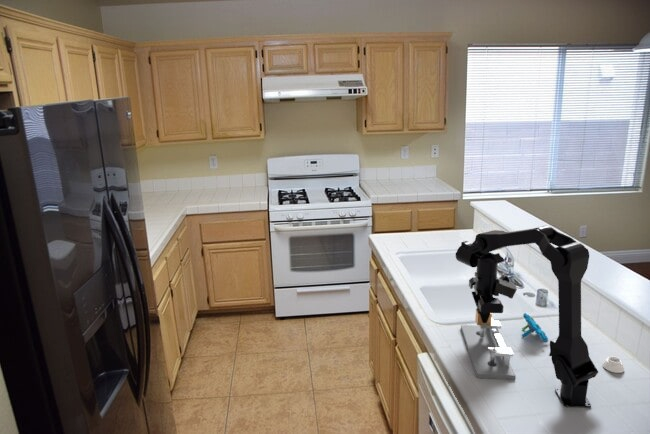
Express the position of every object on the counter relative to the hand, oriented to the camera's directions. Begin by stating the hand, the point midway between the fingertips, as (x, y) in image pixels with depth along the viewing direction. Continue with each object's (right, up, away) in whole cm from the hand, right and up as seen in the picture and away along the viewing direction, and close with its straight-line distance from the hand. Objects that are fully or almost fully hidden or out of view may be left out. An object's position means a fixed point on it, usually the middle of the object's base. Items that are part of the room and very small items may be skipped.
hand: (483, 319), depth 140 cm
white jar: (+32, -11, -12) cm, 36 cm away
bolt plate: (0, -9, -3) cm, 9 cm away
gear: (+17, -6, +4) cm, 19 cm away
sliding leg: (+2, -6, +1) cm, 6 cm away
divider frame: (+2, -7, -2) cm, 8 cm away
